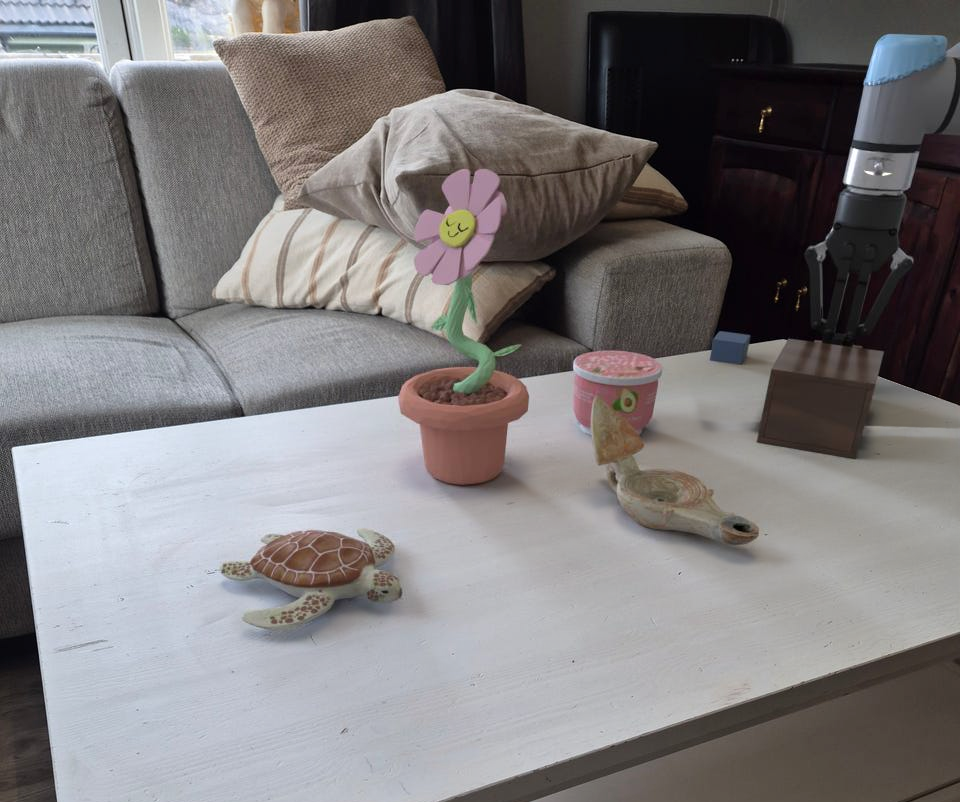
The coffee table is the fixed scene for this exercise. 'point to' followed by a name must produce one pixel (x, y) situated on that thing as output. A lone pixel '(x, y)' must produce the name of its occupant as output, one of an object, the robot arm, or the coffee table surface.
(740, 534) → the oil lamp
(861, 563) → the coffee table surface
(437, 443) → the decorative flower
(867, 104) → the robot arm
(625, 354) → the container
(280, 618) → the decorative turtle
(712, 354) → the block
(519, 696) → the coffee table surface
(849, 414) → the cabinet
